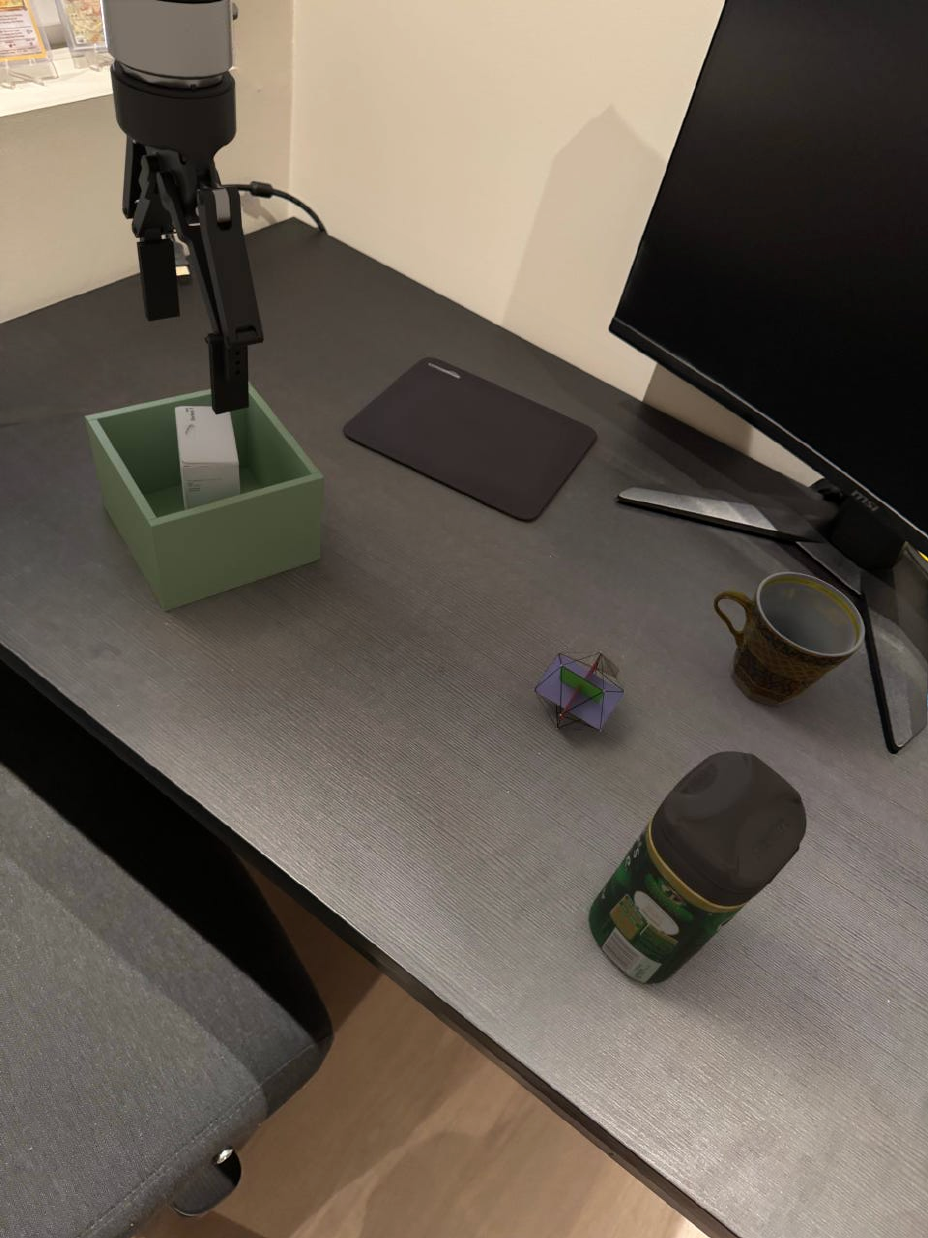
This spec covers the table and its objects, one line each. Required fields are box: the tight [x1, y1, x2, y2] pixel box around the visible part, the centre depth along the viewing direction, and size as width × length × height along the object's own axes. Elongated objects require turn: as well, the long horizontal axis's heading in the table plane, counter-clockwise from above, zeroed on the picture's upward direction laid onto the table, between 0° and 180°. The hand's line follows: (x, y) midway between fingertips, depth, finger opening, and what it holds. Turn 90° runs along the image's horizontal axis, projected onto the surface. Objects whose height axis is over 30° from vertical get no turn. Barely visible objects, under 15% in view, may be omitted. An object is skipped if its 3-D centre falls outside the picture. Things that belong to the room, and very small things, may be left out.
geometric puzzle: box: [532, 651, 626, 732], centre depth 73 cm, size 7×7×8 cm
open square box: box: [84, 380, 325, 612], centre depth 79 cm, size 16×16×10 cm
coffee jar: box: [588, 750, 808, 985], centre depth 57 cm, size 10×8×19 cm
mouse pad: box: [342, 356, 597, 521], centre depth 100 cm, size 25×21×1 cm
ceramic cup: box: [713, 571, 866, 708], centre depth 79 cm, size 13×10×10 cm
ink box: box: [175, 406, 240, 510], centre depth 78 cm, size 8×5×12 cm, turn 16°
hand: (195, 360), depth 69 cm, fingers open, 13 cm apart
